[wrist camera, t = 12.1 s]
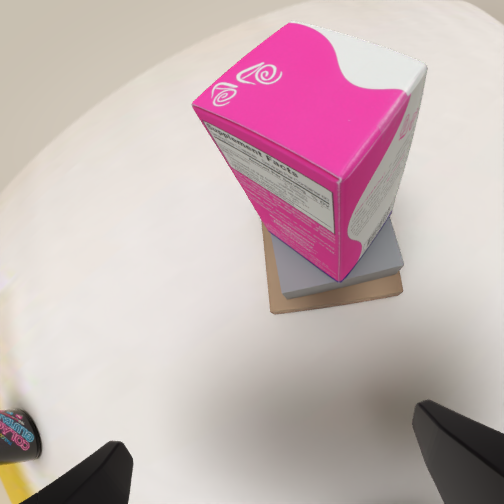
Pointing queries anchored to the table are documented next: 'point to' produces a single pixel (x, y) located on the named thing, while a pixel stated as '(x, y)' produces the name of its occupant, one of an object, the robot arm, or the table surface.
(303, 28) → the supplement box
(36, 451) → the supplement container
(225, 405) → the table surface
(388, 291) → the tower base
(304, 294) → the tower top
